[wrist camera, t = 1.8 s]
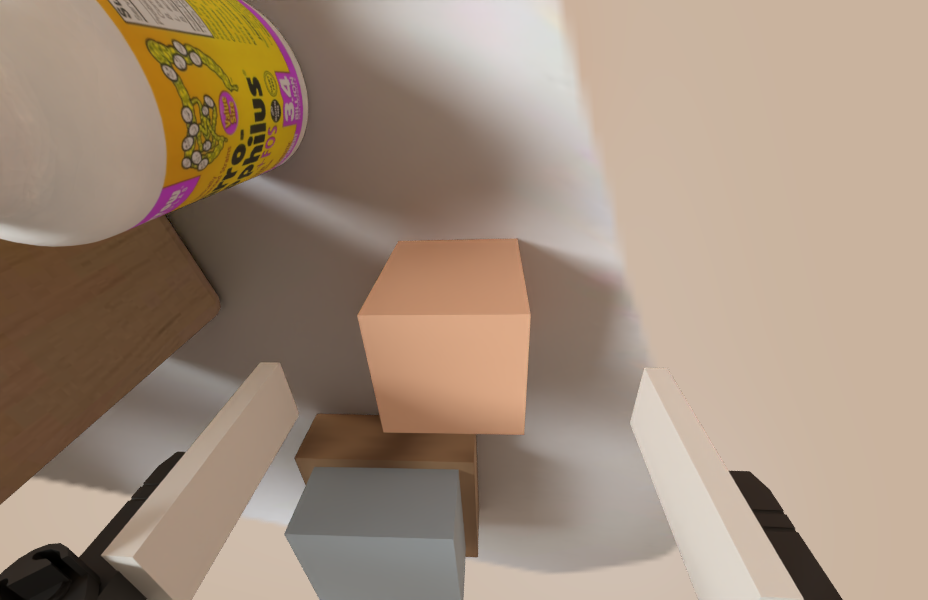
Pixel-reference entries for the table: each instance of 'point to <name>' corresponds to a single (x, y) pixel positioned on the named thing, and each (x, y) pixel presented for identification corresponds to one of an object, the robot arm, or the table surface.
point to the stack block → (449, 337)
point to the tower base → (394, 456)
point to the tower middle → (381, 534)
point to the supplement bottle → (136, 111)
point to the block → (87, 334)
